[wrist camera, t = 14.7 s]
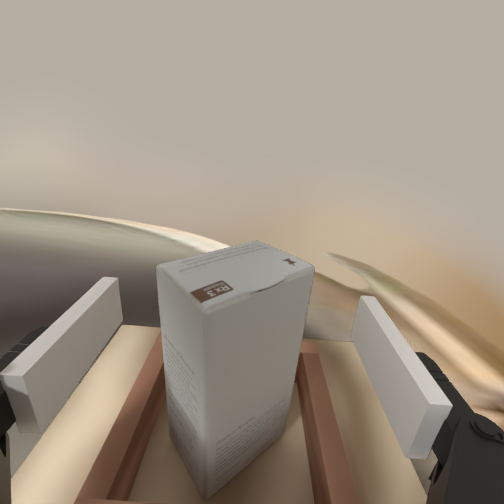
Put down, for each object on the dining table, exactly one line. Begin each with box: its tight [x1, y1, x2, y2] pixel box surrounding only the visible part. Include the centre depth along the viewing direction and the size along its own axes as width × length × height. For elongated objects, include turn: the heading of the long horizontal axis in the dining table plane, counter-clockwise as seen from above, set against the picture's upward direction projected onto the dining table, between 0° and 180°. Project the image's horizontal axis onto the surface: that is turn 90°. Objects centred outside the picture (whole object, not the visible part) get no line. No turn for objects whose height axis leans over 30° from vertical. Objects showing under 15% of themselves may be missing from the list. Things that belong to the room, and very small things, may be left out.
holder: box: [11, 325, 427, 504], centre depth 17 cm, size 22×20×4 cm
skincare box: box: [156, 241, 315, 500], centre depth 15 cm, size 6×4×12 cm
